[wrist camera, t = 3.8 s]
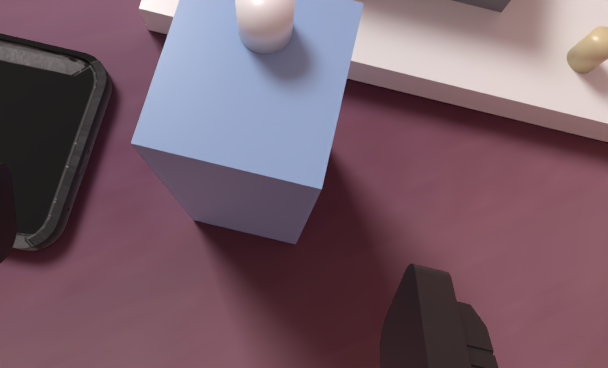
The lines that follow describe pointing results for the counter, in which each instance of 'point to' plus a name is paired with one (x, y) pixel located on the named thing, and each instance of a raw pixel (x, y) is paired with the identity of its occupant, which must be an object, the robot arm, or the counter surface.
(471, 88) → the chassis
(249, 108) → the block
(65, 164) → the phone
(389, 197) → the counter surface
